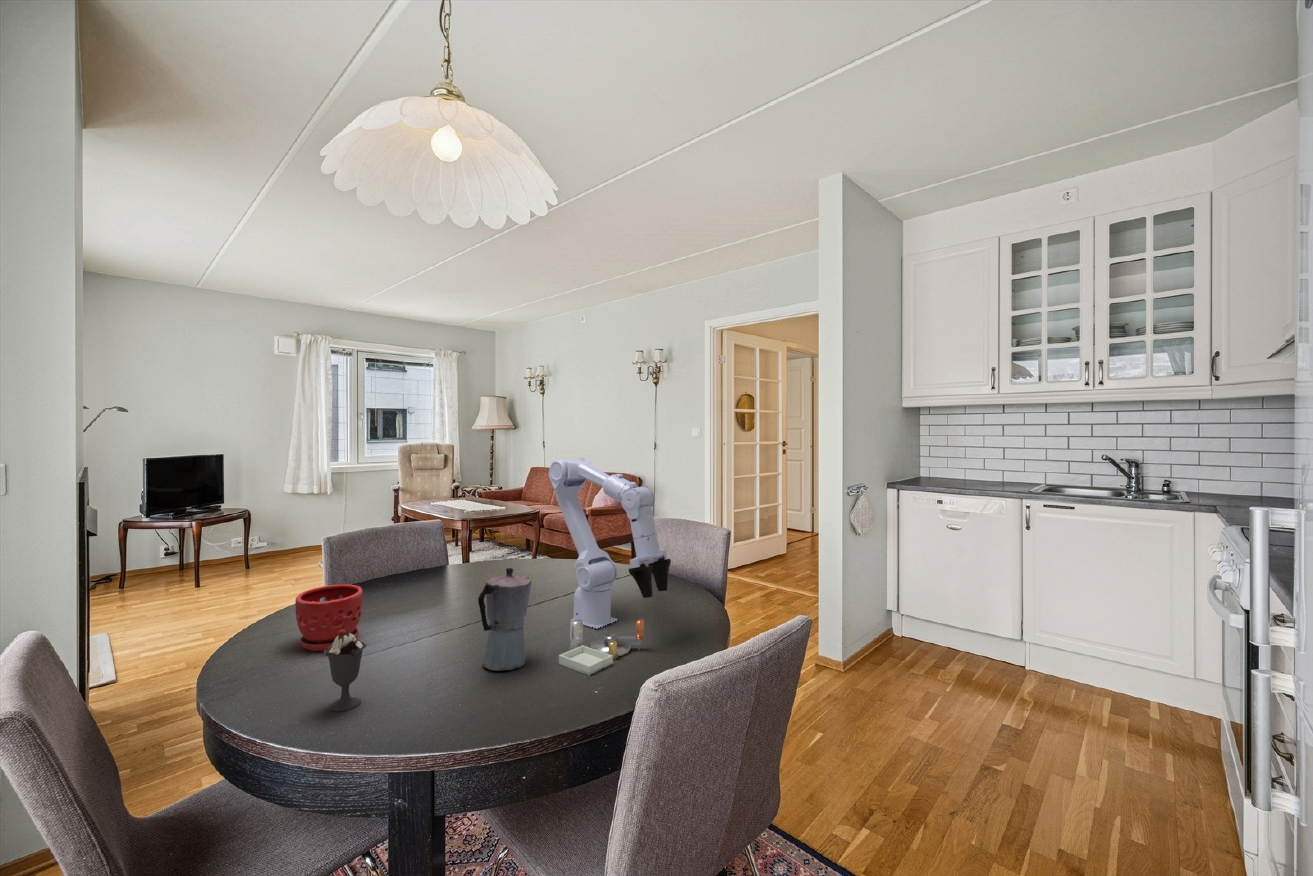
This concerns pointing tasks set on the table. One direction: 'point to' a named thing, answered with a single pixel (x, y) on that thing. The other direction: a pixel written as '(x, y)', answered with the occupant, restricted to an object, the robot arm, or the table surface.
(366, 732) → the table surface
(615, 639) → the crank
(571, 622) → the clear glass cylinder
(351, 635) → the sundae
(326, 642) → the plant pot
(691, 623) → the table surface
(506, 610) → the moka pot
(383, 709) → the table surface
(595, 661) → the tray
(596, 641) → the crank base
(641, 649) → the table surface
